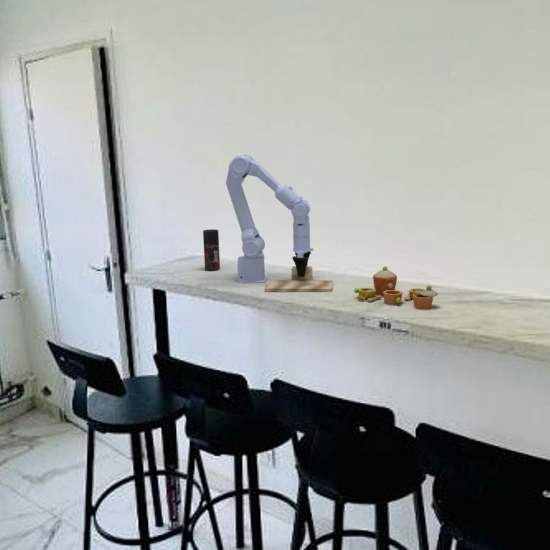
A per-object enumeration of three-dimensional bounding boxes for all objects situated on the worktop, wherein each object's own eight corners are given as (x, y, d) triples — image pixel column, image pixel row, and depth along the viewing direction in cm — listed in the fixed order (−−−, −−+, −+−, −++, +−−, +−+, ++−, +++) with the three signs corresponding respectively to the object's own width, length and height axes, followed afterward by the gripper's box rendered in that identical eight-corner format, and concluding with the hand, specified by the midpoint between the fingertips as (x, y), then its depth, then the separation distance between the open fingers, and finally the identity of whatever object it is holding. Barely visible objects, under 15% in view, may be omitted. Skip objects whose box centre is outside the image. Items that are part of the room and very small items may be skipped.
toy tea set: (348, 301, 184) (348, 270, 182) (374, 291, 196) (374, 262, 194) (428, 315, 168) (429, 281, 166) (451, 303, 180) (452, 271, 178)
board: (264, 291, 197) (264, 288, 197) (269, 283, 209) (269, 280, 209) (332, 292, 194) (332, 288, 194) (333, 283, 206) (333, 280, 206)
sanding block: (291, 282, 210) (291, 268, 209) (292, 280, 214) (292, 266, 213) (311, 282, 209) (311, 268, 208) (312, 280, 213) (312, 266, 212)
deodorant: (210, 266, 240) (209, 229, 237) (223, 267, 237) (221, 229, 234) (201, 269, 235) (199, 231, 232) (214, 270, 232) (212, 232, 229)
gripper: (311, 239, 200) (312, 278, 203) (314, 232, 214) (314, 269, 217) (290, 239, 201) (291, 278, 204) (294, 232, 215) (295, 270, 218)
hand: (302, 274), depth 211 cm, fingers open, 7 cm apart
